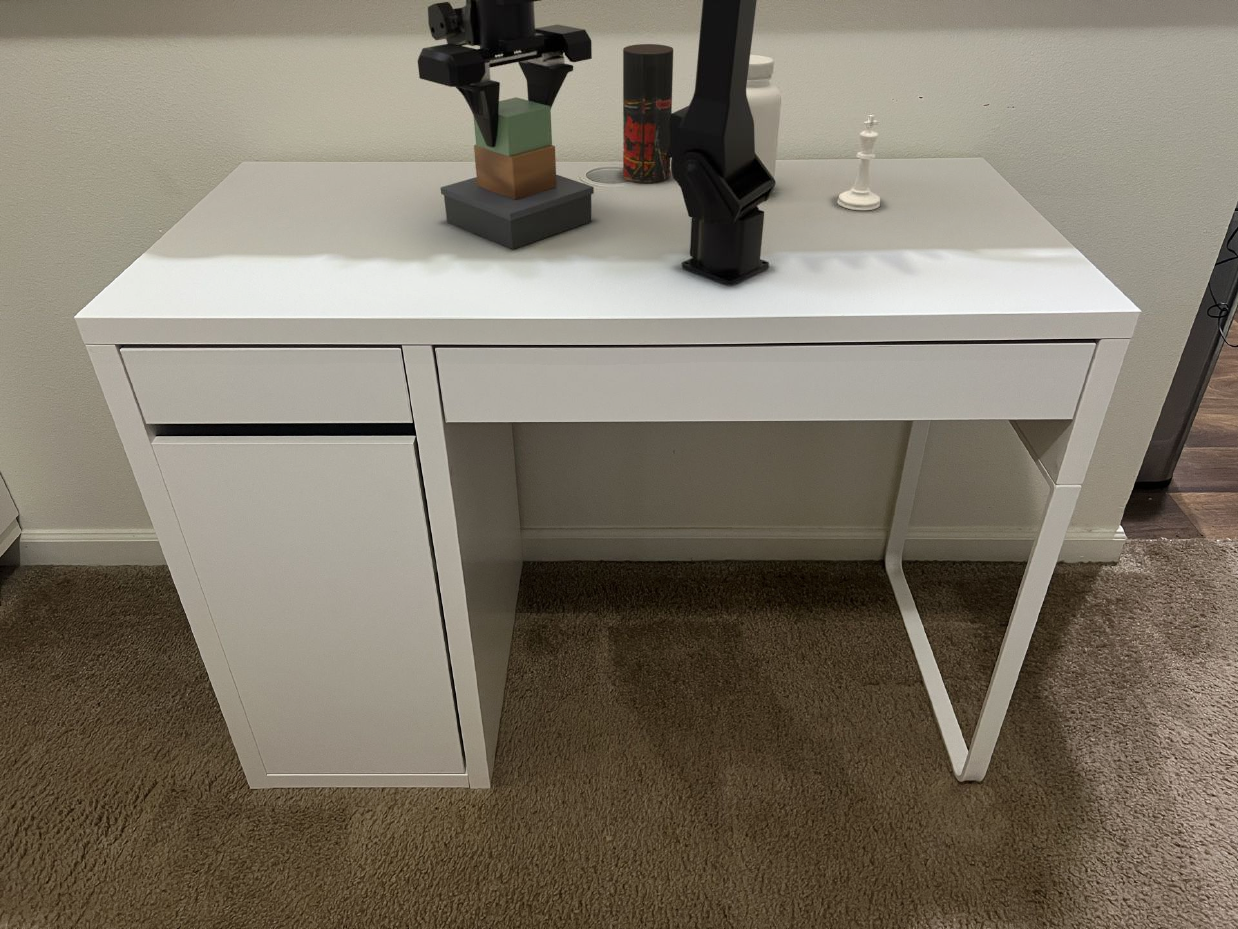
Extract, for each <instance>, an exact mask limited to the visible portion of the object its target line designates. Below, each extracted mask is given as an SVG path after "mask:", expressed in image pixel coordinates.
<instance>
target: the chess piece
mask: <svg viewBox="0 0 1238 929" xmlns="http://www.w3.org/2000/svg"><path fill="white" fill-rule="evenodd" d="M878 125H879V120H875V115H873V114H870V115H868V120H867V121H863V122H862V126H863V127H866V130H862V131H861V132H860V133H859V139H860V145H861V151H858V152H857V153H856V158H858V159H860V162H859V165H858V170H857V174H856V178H855V181H854V184H853V186H851V187H850V190H847V191H843V192H841V193H840V194H839V196H838V199H837V204H838V205H839V206H840V207H842V208H845V209H848V210H853V211H872V210H876V209H878V208H879V207H880V206H881V197H880V196H879V195H878V194H877V193H875V192H872V191H871V188H869V178H870V176H869V173H870V160H873V159H875V158H876V153H874V152H873V151H872V150H873V148H874V145H875V143H876V141H877V139H878V138H879V133H878V132H876V131H875V130H873V129H874V127H875V126H878Z"/></svg>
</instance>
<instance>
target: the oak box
mask: <svg viewBox="0 0 1238 929" xmlns="http://www.w3.org/2000/svg"><path fill="white" fill-rule="evenodd" d="M473 151H474V164H475V173H476V174H475V175H476V177H477V186H478V187H481V188H484V189H486V190H489V191H492V192H494V193H497V194H500V195H503V196H505V197H508V198H511V199H514V200H517V199H520V198H523V197H527V196H530V195H533V194H536V193H539V192H542V191H546V190H549V189H552V188H555V187H557V183H556V175H557V162H556V145H553V144H552V145H549V146H546V147H542V148H539V149H535V150H531V151H528V152H524V153H521V154H517V155H513V156H510V157H509V156H506V155H503V154H500V153H497V152H494V151H491V150H488V149H485V148H481V147H478V146H476V144H474V145H473Z"/></svg>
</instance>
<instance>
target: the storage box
mask: <svg viewBox="0 0 1238 929" xmlns="http://www.w3.org/2000/svg"><path fill="white" fill-rule="evenodd" d="M556 183H557V187H555V188H552V189H549V190H546V191H542V192H539V193H536V194H533V195H530V196H527V197H523V198H520V199H517V200H514V199H511V198H508V197H505V196H503V195H500V194H497V193H494V192H492V191H489V190H486V189H484V188H481V187H478V186H477V176H476V177H472V178H468V179H465V180H461V181H458V182H454V183H451V184H448V185H444V186H440V195H443V199H444V208H445V216H446V223H448V224H451V225H453V226H455V227H458V228H460V229H463V230H464V231H467V232H470V233H472V234H475V235H477V236H480V237H482V238H484V239H487V240H489V241H491V242H494V243H497V244H499V245H500V246H504V247H506V248H508V249H510V250H515V249H518V248H521V247H523V246H526V245H529V244H533V243H534V242H538V241H540V240H544V239H547V238H549V237H552V236H555V235H557V234H560V233H563V232H566V231H570V230H571V229H574V228H577V227H580V226H583V225H586V224H589V223H592V221H593V219H592V218H593V217H592V195H594V193H595V191H594V190H595V189H594V188H595V187H594V186H592V185H589V184H586V183H584V182H580V181H577V180H574V179H571V178H568V177H565V176H562V175H559V174H556Z"/></svg>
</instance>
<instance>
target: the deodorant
mask: <svg viewBox="0 0 1238 929" xmlns="http://www.w3.org/2000/svg"><path fill="white" fill-rule="evenodd" d="M673 74H674V47H672V46H669V45H665V44H657V43H640V44H631V45H627V46H625V47H623V48H622V117H623V118H622V145H623V146H622V153H623V154H622V158H623V159H622V160H623V162H622V176H623V178H624V179H625V180H627V181H628V182H632V183H637V184H656V183H657V184H658V183H662V182H665V181H666V180H669V179H670V177H671V158H669V159H666V158H665V155H666V153H667V151H668V149H669V143H670V131H669V121H670V115H671V114H672V113H673V110H672V108H673V79H674V78H673V76H674V75H673Z"/></svg>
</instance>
